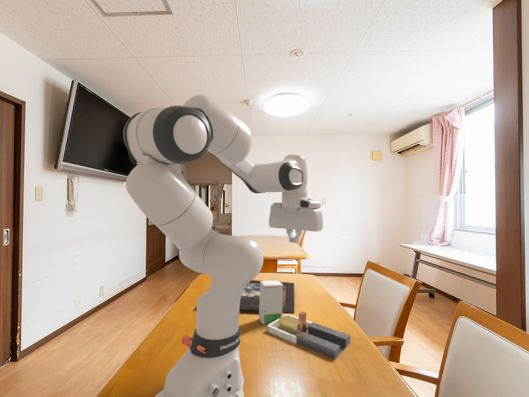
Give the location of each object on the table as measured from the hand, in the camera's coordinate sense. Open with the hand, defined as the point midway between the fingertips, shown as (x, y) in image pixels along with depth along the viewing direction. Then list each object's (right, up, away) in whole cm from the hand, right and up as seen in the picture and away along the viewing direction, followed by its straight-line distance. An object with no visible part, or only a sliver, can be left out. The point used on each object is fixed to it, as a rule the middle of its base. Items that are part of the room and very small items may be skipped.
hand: (293, 242), depth 87 cm
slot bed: (+9, -34, -3) cm, 36 cm away
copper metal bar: (+3, -33, +2) cm, 33 cm away
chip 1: (-2, -34, +7) cm, 34 cm away
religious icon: (-17, -36, +41) cm, 57 cm away
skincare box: (-8, -35, +14) cm, 38 cm away
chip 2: (+1, -34, +4) cm, 34 cm away
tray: (-1, -34, +6) cm, 35 cm away
